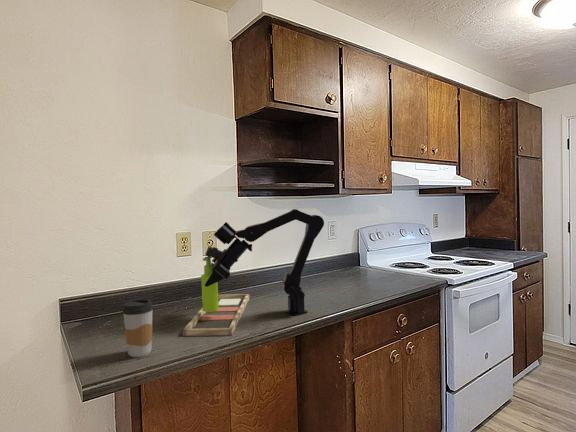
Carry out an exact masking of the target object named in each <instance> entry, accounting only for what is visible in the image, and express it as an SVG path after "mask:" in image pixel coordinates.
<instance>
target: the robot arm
mask: <svg viewBox="0 0 576 432" xmlns="http://www.w3.org/2000/svg"><path fill="white" fill-rule="evenodd" d="M293 221H298V222H301V223H303V224H305V230H304V231H305V232H304V235H303V239H302V241H301V244H300V246H299V248H298V252H297V255H296V257H295V259H294V262H293V265H292V267H291V269H290V270H289V271H286V270H285V272H284V276H283V278H282V280H281V282H282V288H283V290H284V292H285V293H286V294H287V295H288V296H287V298H288V299H287V310H284V311H285V313H288V314H290V315H292V316H299V315H304V314H307V313H308V312H309V311H308V310H305V296H306V295H305V291H304V290H303V288H302V287H301V286H300V285H301V279H302V273H303V270H304V267H305V265H306V262H307V260H308V258H309V255H310V252H311V249H312V247H313V245H314V241H315V240H316V238H317V237H318V235H320V233H321V231H322V229H323V228H324V226H325V221H324V218H323V217H322V216H321V215H317V214H311V215H310V214H308V213H306V212H303V211H301V210H299V209H296V208H293V209H291V210H290V211H287V212H285V213H283V214H280V215H278V216H276V217H274V218H271V219H269V220H267V221H264V222H261V223H256V224H251V225H247V226H246V227H245V228H244V229H238V230H236V229H234V228H233V227H232V226H231V225H230V223H228V222H227V221H225V222H224V223H223V224H222V225H221V226H220V227H219V228H218V229H217V230H216V231H215V233H214V234H213V236H214V237H215V238H217V239H218V240H219V241H220V242H221V243H222V244H223V245H227V244H228V245H229V246H228V247H227V248H225V249H223V250H219V248H218V247H215V246H213V247H212V246H208V247H207V249H206V251H205V257H212V259H211V264H212V265H213V267H212V274H211V275H210V277H209V279H208V280H207V282H206V283H205V286H206V287H208V286H210V285H212V284H214V283H216V282H220V281H222V280H228V279H229V277H230V276H231V271H230V270H231V268H232V267H233V265H234V264H235V263H237V262H239V258H240V257H241V256H242V255H243V254H244V253H245V252H246V251H247V250H249V252H253V244H252V243H253V242H255V241H257V240H258V239H259V238H261V237H263V236H264V235H266V234H267V233H269V232H271V231H273V230H275V229H277V228H279V227H281V226H284V225H286V224H289V223H291V222H293ZM241 239H242V240H241ZM248 242H249V243H248ZM230 243H231V244H230Z"/></svg>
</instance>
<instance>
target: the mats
mask: <svg viewBox="0 0 576 432" xmlns="http://www.w3.org/2000/svg"><path fill="white" fill-rule="evenodd" d="M239 308H240V306H233V307H232V306H226V307H225V306H219V309H218V310H217V311H213V312H212V313H222V312H224V313H227V312H230V313H232V312H235V313H237V311H238V310H239ZM235 315H236V314H210V315H209V314H207V315H206V314H204V315H203V316H202V317H201V319H200V320H199V321H233V319H234V317H235Z"/></svg>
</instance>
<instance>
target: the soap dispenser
mask: <svg viewBox="0 0 576 432" xmlns="http://www.w3.org/2000/svg"><path fill="white" fill-rule="evenodd" d="M212 259H213V257H208V256H205V257H203V258H202V261H203V262H204V261H205V263H206V264H205V265H204V266H203V269H204V270H203V272H204V273H203V274H202V275H200V278H201V279H200V280H201V281H200V282H201V298H202V299H201V301H202V307H203V311H204V312H206V313H214V312H213V311H217V310H218V309H219V307H220V306H219V300H218V295H219V290H218V289H219V286H218V284H219V283H218V282H219V281H218V282H216V283H214V284H212V285H210V286H208V287H206V286H205V283H206V282H207V280H208V279H209V277H210V275H211V274H212V267H213V265H212V264H211V262H212Z"/></svg>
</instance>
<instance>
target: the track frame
mask: <svg viewBox="0 0 576 432" xmlns="http://www.w3.org/2000/svg"><path fill="white" fill-rule="evenodd" d="M250 295H251V294H250V293H225V294H223V293H222V294H218V301H220V300H221V299H241V300H242V302H241V305H240V306H239V307H240V308H239V310H238V311H237V312H235V314H234V315H235V317H234V319H233V320H231V323H230V325H229V327H212V328H211V327H210V328H209V327H207V328H205V327H203V328H199V327H198V328H197V327H196V325H197V324H198V323H199V321H200V319H201V318H202V317H203V316H204V315H206V313H207V312H204V311H203V306H202V308H201V309H199V310H198V311H197V313H196V314H195V315H194V316H193V317H192V319H191V320H190V321H189V322H188V323H187V325H185V327H184V328H183V329H182V337H194V336H195V337H198V336H199V337H200V336H201V337H202V336H203V337H204V336H208V337H211V336H212V337H213V336H233V333H234V332H235V330H236V328H237V325H238V323H239V321H240V320H241V317H242V314H243V313H244V312H245V309H246V306H247V305H248V302H249V301H250V297H251V296H250ZM194 327H196V328H194Z"/></svg>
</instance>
